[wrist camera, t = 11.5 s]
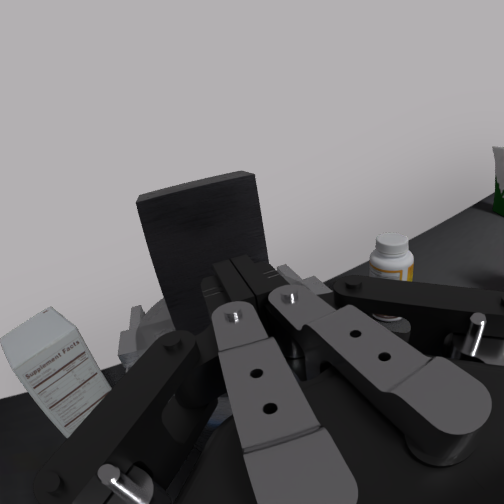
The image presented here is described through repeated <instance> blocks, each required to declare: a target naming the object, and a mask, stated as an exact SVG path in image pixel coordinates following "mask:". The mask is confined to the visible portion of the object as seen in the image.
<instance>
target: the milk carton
mask: <svg viewBox="0 0 504 504" xmlns="http://www.w3.org/2000/svg"><path fill="white" fill-rule="evenodd" d="M493 152H494V157H495V196H494V203H493V211H494V212H496V213H498V214H500V215H502V216H504V147H493Z"/></svg>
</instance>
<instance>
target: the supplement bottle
mask: <svg viewBox="0 0 504 504" xmlns="http://www.w3.org/2000/svg"><path fill="white" fill-rule="evenodd" d="M408 248H409V247H408V238H407V237H406V236H405V235H403V234H399V233H383V234H380V235H379V236H377V238H376V249H375V250H374V251H373V252H372V253H371V255H370V277H376V278H385V279H394V280H403V281H411V282H412V276H413V263H414V257H413V254H412V253H411V252H410V251H409V250H408ZM373 316H374V317H375V318H377V319H379V320H381V321H387V322H392V321H397V320H400V319H402V318H401V317H394V316H387V315H381V314H374V313H373Z"/></svg>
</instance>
